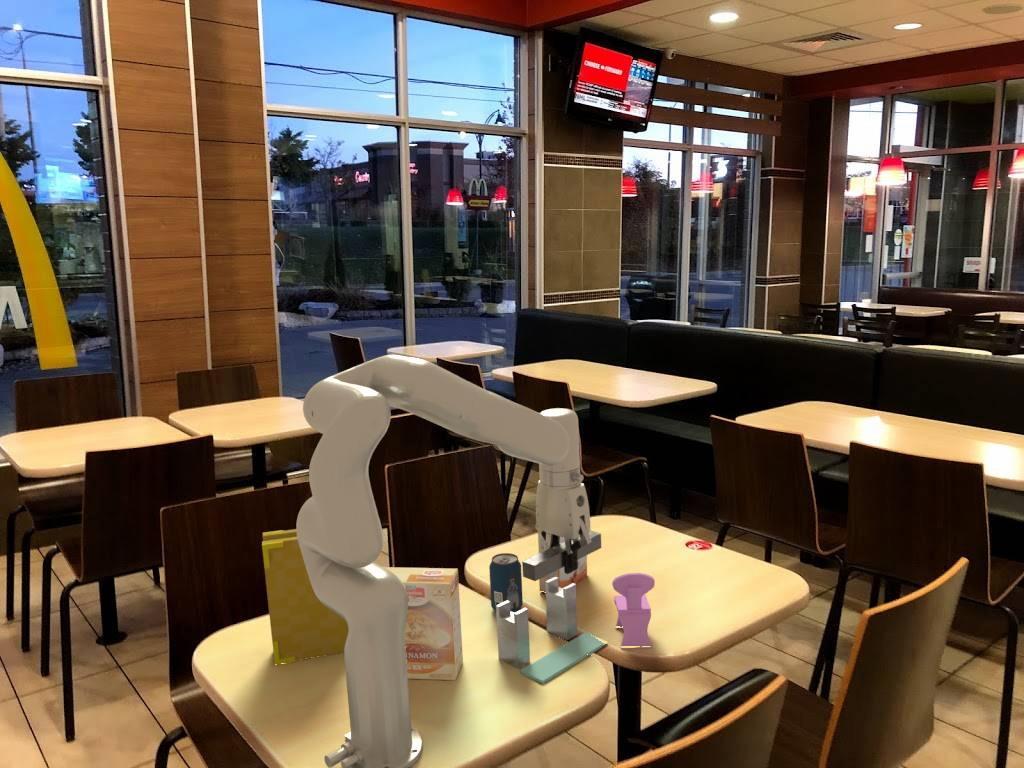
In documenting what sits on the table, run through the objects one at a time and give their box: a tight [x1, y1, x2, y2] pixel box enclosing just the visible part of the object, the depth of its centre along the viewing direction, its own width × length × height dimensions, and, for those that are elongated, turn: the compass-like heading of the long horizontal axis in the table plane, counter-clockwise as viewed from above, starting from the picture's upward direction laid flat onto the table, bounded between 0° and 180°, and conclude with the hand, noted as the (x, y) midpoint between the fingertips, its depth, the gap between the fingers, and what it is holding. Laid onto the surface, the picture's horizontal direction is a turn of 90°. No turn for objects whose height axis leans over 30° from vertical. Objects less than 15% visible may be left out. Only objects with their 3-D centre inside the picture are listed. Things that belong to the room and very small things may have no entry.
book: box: [261, 528, 348, 665], centre depth 160 cm, size 17×7×25 cm, turn 105°
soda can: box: [489, 552, 524, 614], centre depth 175 cm, size 7×7×12 cm
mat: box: [520, 632, 604, 685], centre depth 155 cm, size 19×6×1 cm, turn 135°
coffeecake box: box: [383, 566, 464, 681], centre depth 151 cm, size 15×7×20 cm, turn 82°
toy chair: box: [611, 572, 656, 647], centre depth 160 cm, size 8×9×15 cm
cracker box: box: [537, 531, 588, 592], centre depth 186 cm, size 14×6×21 cm, turn 148°
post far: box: [545, 577, 578, 641], centre depth 164 cm, size 3×6×11 cm, turn 45°
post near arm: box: [495, 600, 531, 669], centre depth 154 cm, size 3×6×11 cm, turn 45°
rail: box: [521, 529, 602, 582], centre depth 151 cm, size 19×3×3 cm, turn 135°
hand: (563, 567), depth 152 cm, fingers closed on rail, 3 cm apart
